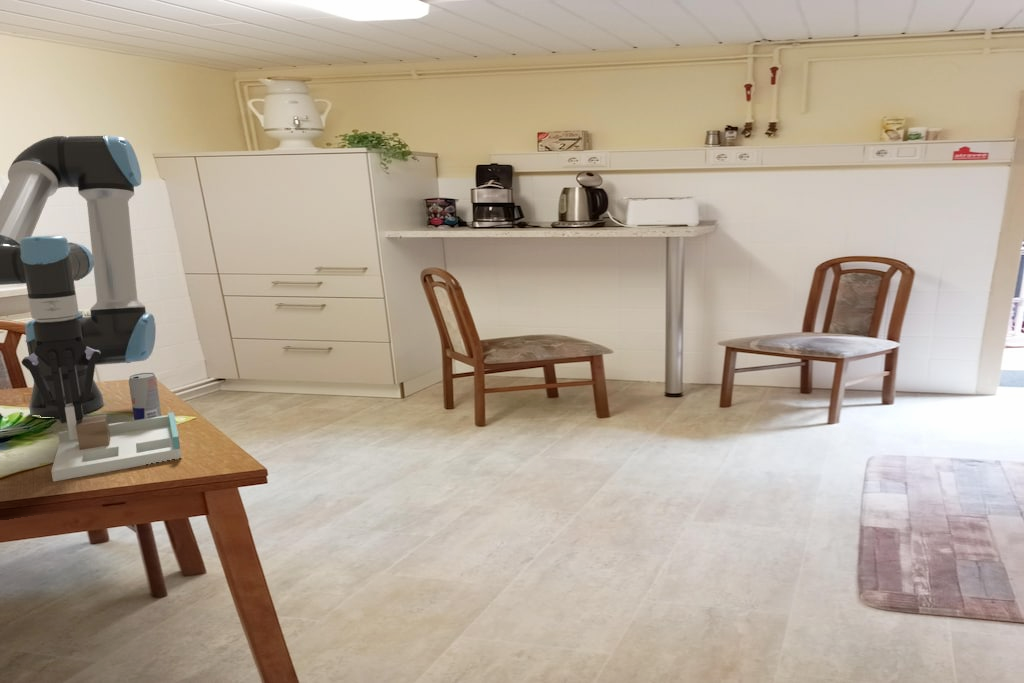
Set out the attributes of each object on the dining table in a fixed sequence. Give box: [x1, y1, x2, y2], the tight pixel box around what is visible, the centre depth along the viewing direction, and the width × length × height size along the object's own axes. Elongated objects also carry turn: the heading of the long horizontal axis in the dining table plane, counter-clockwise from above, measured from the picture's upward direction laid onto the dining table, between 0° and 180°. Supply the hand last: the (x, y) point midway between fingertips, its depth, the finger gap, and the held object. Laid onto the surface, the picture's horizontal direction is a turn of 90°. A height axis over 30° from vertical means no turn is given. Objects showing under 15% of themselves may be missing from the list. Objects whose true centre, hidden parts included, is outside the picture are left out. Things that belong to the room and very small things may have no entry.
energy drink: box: [128, 372, 163, 420], centre depth 151 cm, size 5×5×12 cm
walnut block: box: [76, 413, 110, 450], centre depth 137 cm, size 5×5×5 cm
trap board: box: [51, 411, 182, 483], centre depth 137 cm, size 18×21×4 cm
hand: (74, 437), depth 136 cm, fingers closed
